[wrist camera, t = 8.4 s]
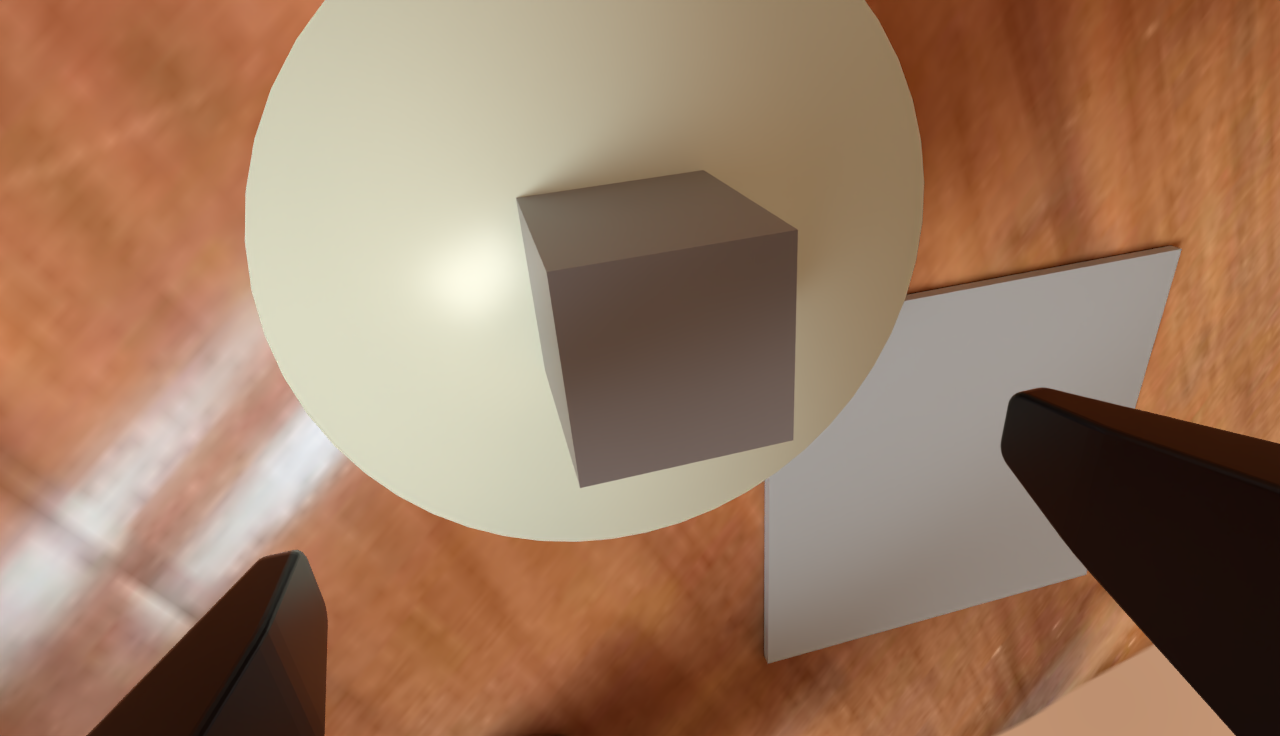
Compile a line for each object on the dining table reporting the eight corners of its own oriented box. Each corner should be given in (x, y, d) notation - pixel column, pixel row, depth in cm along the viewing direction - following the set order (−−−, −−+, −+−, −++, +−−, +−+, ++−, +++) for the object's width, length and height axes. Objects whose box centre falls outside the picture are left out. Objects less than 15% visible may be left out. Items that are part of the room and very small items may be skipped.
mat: (1078, 568, 32) (1085, 574, 31) (764, 655, 29) (768, 663, 29) (1171, 245, 25) (1181, 249, 24) (765, 321, 22) (770, 326, 22)
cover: (878, 455, 19) (1004, 584, 15) (365, 575, 16) (343, 769, 12) (934, -150, 13) (1178, -223, 8) (124, -95, 10) (-87, -159, 6)
